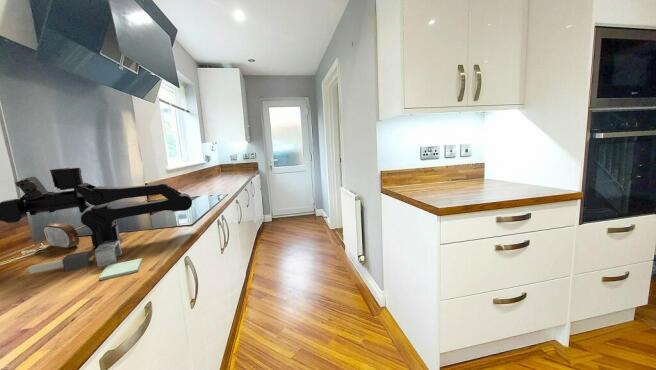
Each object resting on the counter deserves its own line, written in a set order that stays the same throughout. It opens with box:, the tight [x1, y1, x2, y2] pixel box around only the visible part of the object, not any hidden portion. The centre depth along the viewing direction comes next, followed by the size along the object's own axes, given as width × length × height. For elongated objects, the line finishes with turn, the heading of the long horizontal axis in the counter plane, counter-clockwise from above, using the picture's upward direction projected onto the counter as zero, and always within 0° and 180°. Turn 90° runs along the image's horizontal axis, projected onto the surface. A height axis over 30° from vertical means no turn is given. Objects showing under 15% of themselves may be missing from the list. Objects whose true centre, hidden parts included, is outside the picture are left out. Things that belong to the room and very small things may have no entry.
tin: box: [42, 222, 80, 249], centre depth 88 cm, size 15×3×8 cm, turn 71°
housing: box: [94, 239, 123, 268], centre depth 75 cm, size 4×8×5 cm, turn 29°
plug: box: [27, 250, 96, 274], centre depth 71 cm, size 13×4×4 cm, turn 119°
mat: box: [98, 257, 143, 281], centre depth 69 cm, size 8×8×1 cm
